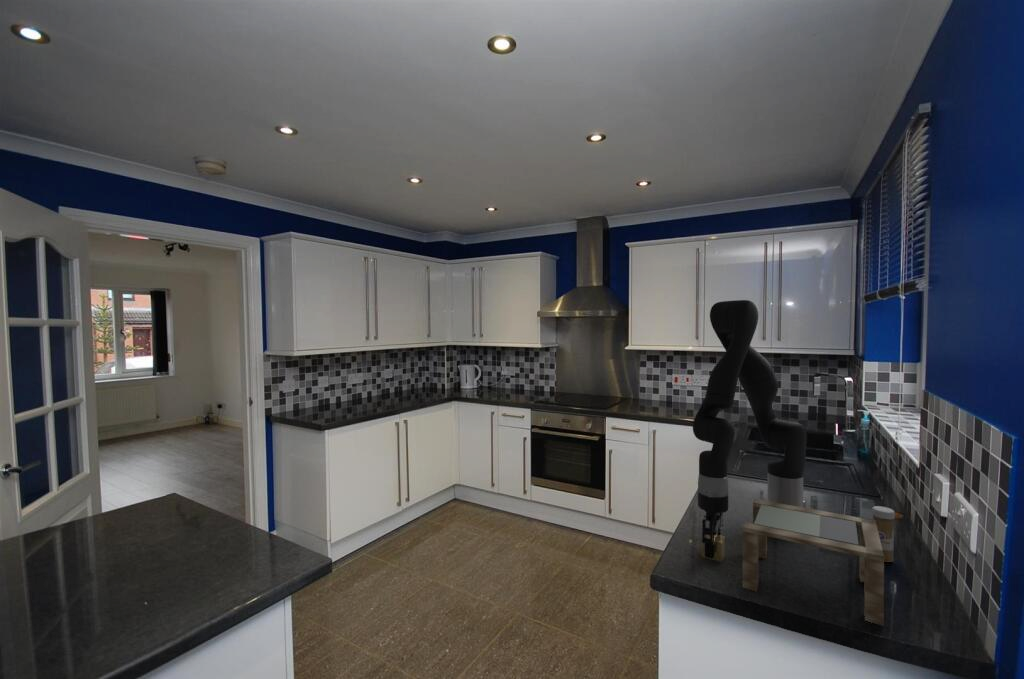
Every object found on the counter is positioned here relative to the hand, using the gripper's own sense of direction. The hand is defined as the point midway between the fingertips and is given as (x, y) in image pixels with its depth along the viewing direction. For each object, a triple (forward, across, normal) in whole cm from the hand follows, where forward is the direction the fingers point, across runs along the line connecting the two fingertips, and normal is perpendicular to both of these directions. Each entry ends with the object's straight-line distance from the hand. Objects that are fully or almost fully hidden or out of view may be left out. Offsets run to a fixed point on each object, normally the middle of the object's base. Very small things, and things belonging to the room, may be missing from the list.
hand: (712, 550), depth 124 cm
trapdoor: (-10, +2, +21) cm, 23 cm away
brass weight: (+2, 0, 0) cm, 2 cm away
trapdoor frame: (+1, +2, +22) cm, 22 cm away
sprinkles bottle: (+1, -22, +38) cm, 44 cm away
